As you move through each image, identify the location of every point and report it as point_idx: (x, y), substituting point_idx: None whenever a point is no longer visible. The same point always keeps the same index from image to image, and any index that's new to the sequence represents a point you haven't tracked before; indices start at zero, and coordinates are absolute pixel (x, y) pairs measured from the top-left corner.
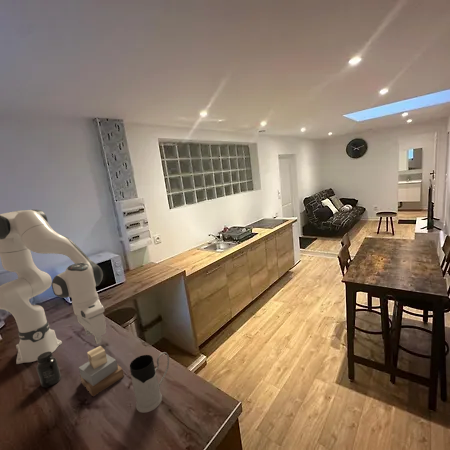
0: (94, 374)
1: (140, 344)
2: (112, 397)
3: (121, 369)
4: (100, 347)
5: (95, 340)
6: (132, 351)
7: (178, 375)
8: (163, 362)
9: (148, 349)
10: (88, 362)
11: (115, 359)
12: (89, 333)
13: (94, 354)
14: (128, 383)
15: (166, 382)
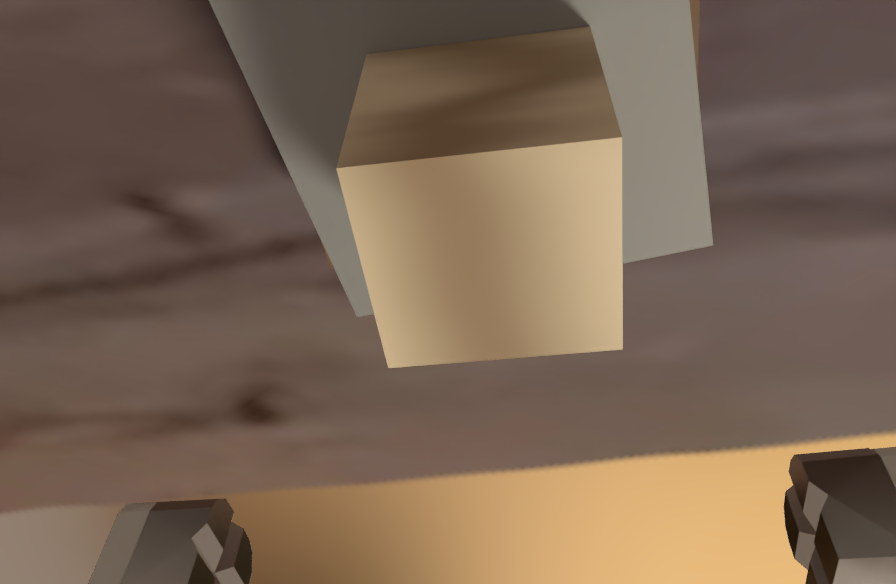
0: (224, 28)
1: (723, 440)
2: (82, 42)
3: (328, 257)
4: (552, 339)
5: (144, 575)
6: (687, 368)
7: (51, 474)
8: (281, 466)
9: (569, 456)
10: (654, 15)
11: (367, 313)
12: (818, 527)
13: (391, 227)
14: (202, 212)
15: (20, 407)
